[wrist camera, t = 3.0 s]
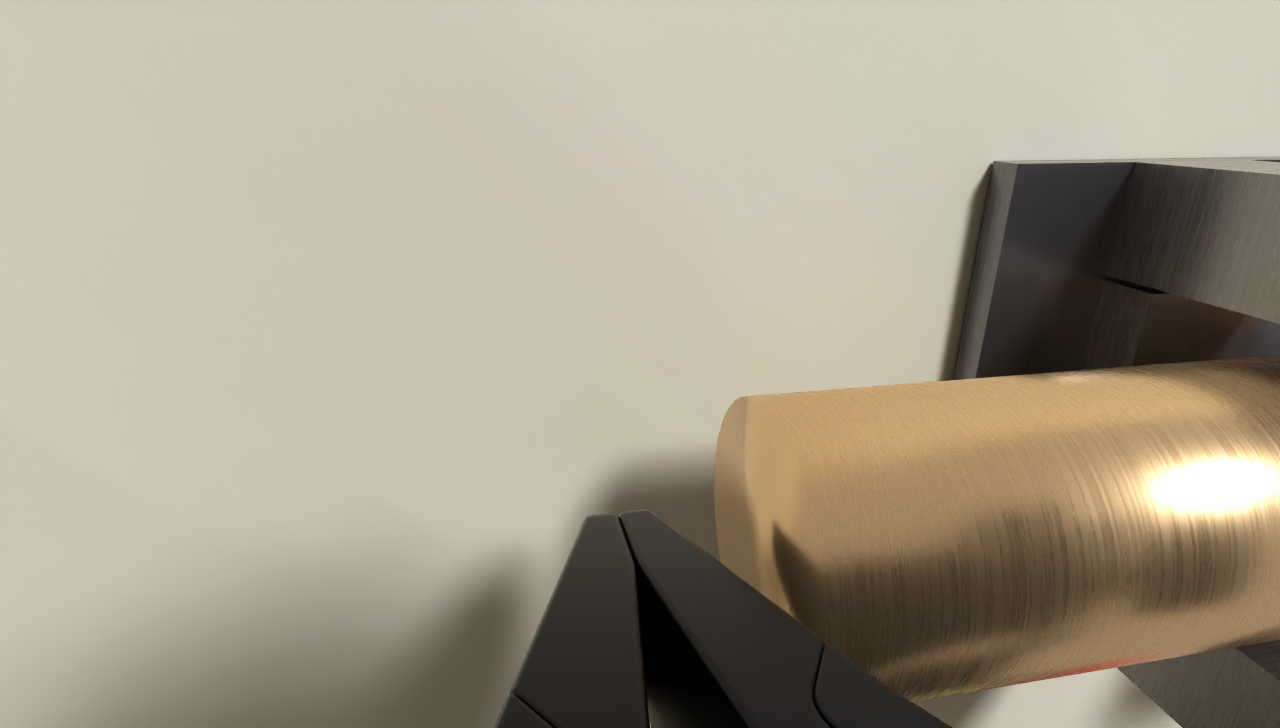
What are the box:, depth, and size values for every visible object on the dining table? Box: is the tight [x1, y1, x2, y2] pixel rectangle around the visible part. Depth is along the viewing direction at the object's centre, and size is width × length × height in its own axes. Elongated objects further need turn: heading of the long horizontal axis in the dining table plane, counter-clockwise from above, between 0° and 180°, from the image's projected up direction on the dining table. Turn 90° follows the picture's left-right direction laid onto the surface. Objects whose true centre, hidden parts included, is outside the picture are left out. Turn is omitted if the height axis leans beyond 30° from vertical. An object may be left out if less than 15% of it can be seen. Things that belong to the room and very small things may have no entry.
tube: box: [714, 355, 1280, 702], centre depth 10 cm, size 4×14×4 cm, turn 90°
